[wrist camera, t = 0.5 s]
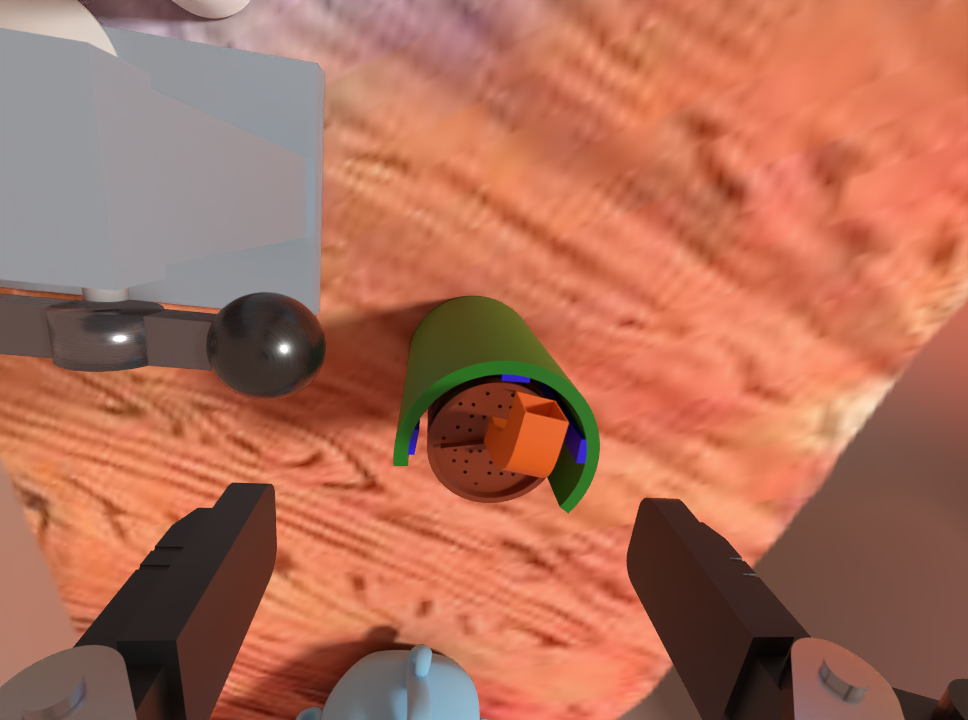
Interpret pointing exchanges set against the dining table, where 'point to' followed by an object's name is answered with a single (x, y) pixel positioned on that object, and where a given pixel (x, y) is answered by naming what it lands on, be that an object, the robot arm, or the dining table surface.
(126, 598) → the robot arm
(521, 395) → the motor
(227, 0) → the can
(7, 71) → the press
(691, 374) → the dining table surface
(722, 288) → the dining table surface
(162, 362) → the lever
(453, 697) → the decorative pot
